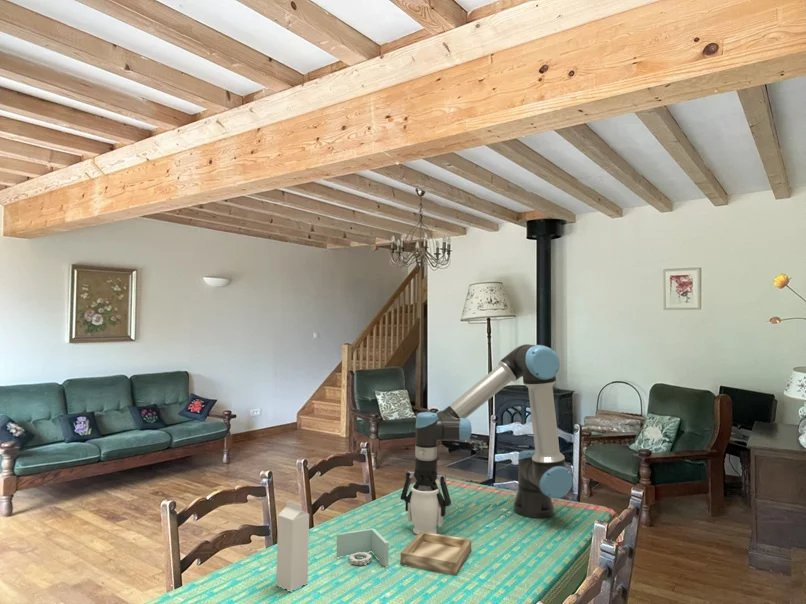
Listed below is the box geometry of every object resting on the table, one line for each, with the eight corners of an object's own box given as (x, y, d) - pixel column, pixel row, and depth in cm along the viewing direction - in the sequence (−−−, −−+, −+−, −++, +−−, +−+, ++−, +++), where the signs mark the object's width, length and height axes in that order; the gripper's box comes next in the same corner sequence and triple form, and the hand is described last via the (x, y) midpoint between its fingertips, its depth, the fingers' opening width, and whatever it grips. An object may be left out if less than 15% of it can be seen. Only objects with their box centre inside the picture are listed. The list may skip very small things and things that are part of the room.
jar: (437, 539, 175) (438, 493, 176) (407, 536, 177) (407, 490, 178) (441, 527, 186) (442, 484, 186) (413, 524, 188) (413, 481, 188)
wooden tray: (471, 550, 166) (471, 539, 167) (456, 575, 150) (456, 562, 150) (420, 542, 173) (420, 531, 173) (400, 564, 156) (400, 552, 156)
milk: (292, 578, 147) (295, 497, 148) (307, 584, 143) (310, 501, 144) (275, 586, 142) (278, 502, 143) (290, 593, 138) (293, 507, 139)
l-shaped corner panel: (336, 558, 161) (337, 533, 161) (373, 552, 165) (373, 528, 166) (349, 576, 150) (349, 549, 150) (388, 568, 154) (388, 542, 155)
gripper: (391, 457, 183) (390, 522, 182) (455, 464, 175) (454, 532, 174) (399, 452, 190) (398, 514, 189) (460, 459, 182) (460, 524, 181)
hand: (425, 523), depth 182 cm, fingers closed on jar, 10 cm apart
